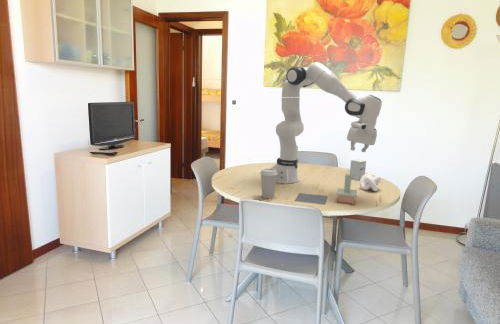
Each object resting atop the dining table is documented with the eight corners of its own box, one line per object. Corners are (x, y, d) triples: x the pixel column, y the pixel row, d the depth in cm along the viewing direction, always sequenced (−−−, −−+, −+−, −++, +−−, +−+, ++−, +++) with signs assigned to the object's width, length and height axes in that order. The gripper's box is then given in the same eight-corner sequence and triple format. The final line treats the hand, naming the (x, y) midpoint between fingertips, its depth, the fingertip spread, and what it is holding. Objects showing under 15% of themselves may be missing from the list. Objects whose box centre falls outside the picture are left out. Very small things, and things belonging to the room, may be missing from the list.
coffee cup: (280, 197, 194) (281, 170, 191) (269, 200, 187) (270, 172, 184) (266, 193, 200) (267, 167, 197) (255, 196, 193) (256, 169, 190)
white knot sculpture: (356, 190, 212) (357, 175, 210) (362, 186, 222) (363, 172, 220) (375, 193, 206) (377, 178, 204) (380, 189, 216) (382, 174, 214)
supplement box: (358, 180, 235) (360, 161, 233) (349, 178, 241) (350, 159, 238) (364, 179, 240) (366, 160, 237) (355, 176, 246) (357, 158, 243)
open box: (338, 202, 187) (338, 194, 186) (338, 198, 194) (339, 190, 193) (353, 204, 184) (354, 196, 183) (354, 200, 192) (354, 192, 191)
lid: (336, 194, 185) (338, 176, 183) (337, 189, 194) (339, 172, 192) (356, 197, 182) (358, 178, 180) (356, 191, 192) (358, 173, 190)
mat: (294, 201, 186) (294, 201, 186) (299, 193, 201) (299, 192, 201) (325, 205, 182) (325, 204, 182) (327, 196, 197) (328, 196, 197)
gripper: (372, 127, 197) (364, 151, 200) (349, 122, 185) (341, 147, 188) (382, 130, 192) (374, 154, 195) (358, 125, 180) (350, 150, 183)
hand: (357, 151), depth 191 cm, fingers open, 8 cm apart
